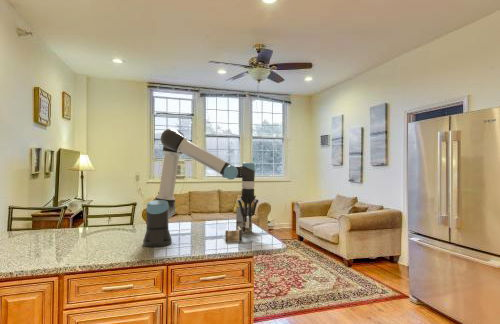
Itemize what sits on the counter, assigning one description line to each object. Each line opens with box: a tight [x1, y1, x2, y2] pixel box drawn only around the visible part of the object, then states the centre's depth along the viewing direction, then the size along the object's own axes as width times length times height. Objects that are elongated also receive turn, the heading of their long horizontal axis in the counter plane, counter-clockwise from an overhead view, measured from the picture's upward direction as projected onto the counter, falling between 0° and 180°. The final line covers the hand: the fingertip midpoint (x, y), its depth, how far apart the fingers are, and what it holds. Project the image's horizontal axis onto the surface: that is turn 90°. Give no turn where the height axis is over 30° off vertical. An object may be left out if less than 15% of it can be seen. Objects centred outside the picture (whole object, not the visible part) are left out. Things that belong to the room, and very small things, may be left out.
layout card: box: [221, 234, 261, 244], centre depth 186 cm, size 20×16×1 cm
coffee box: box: [235, 206, 253, 234], centre depth 206 cm, size 9×6×16 cm
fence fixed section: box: [224, 229, 243, 243], centre depth 180 cm, size 10×2×6 cm, turn 103°
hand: (247, 227), depth 190 cm, fingers closed
